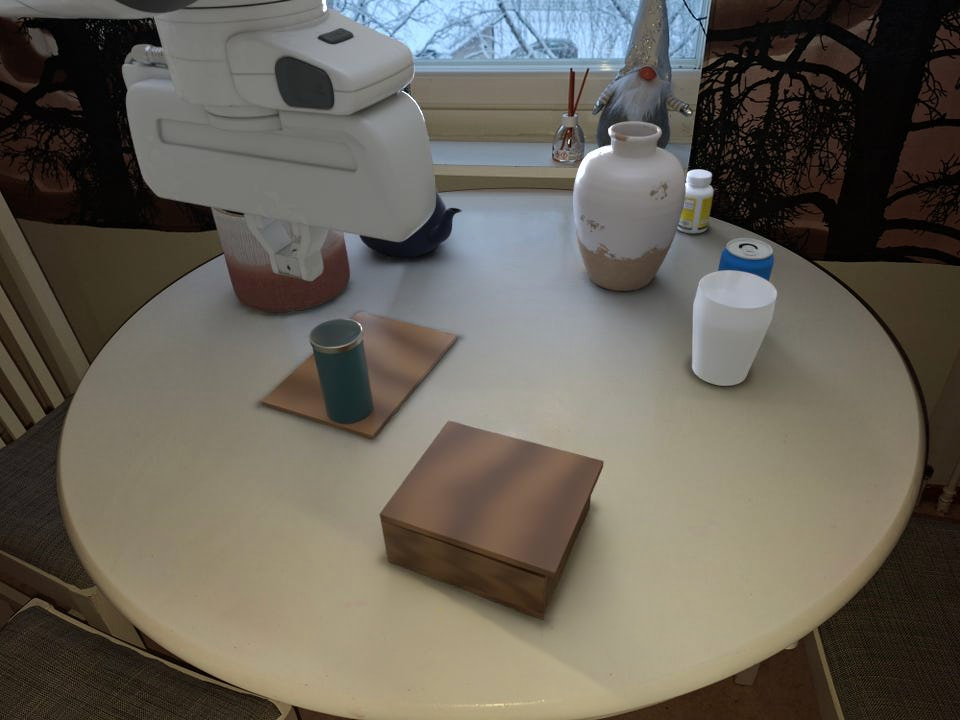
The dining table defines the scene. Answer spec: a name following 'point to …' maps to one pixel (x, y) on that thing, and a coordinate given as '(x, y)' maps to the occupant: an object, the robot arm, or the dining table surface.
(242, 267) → the planter
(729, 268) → the beverage can
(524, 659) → the dining table surface
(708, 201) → the supplement bottle
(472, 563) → the chest
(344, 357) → the tea tin
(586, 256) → the vase
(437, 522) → the chest lid
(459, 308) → the dining table surface
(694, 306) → the cup
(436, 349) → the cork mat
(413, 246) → the teapot
